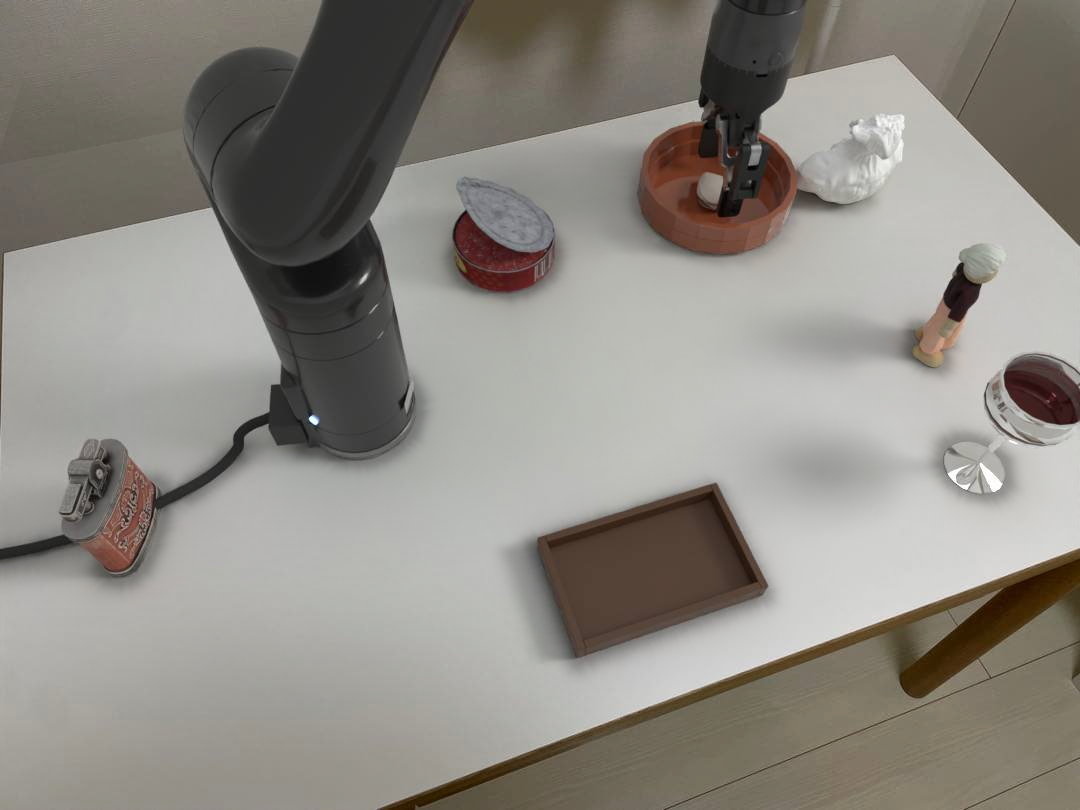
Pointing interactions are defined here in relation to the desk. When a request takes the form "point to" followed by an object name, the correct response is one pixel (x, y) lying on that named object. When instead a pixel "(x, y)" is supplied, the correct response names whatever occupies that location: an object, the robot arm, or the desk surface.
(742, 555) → the tray
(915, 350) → the grandmother figurine
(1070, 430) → the wineglass
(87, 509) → the lighter
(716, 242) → the bowl
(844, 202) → the bust
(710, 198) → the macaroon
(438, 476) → the desk surface
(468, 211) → the canned food
